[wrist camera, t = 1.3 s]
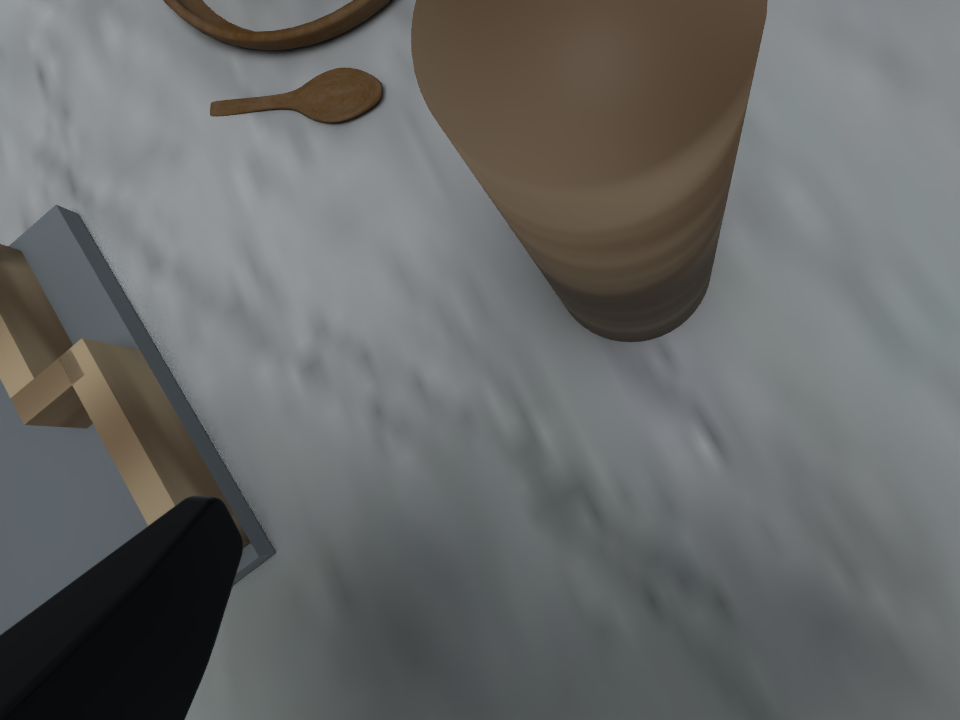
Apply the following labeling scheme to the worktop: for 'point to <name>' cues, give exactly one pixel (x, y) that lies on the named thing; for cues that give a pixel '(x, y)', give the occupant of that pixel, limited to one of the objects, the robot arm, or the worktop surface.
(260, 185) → the worktop surface
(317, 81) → the place setting
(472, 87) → the walnut peg
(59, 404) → the keyhole plate
